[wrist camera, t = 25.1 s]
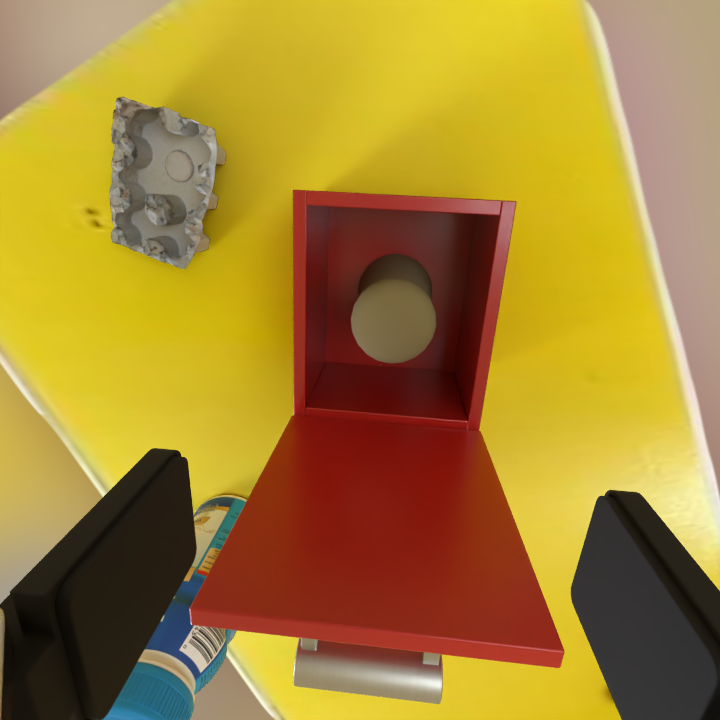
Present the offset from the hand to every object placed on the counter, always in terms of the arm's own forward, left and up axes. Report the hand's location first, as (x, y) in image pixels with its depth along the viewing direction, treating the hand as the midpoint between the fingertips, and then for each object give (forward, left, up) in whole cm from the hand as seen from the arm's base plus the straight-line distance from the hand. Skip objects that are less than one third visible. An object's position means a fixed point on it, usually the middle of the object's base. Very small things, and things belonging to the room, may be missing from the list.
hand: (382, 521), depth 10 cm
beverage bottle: (+26, -15, -28) cm, 41 cm away
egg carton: (-7, -18, -28) cm, 34 cm away
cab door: (+7, 0, -10) cm, 12 cm away
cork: (0, 0, -27) cm, 27 cm away
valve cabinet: (0, 0, -28) cm, 28 cm away
